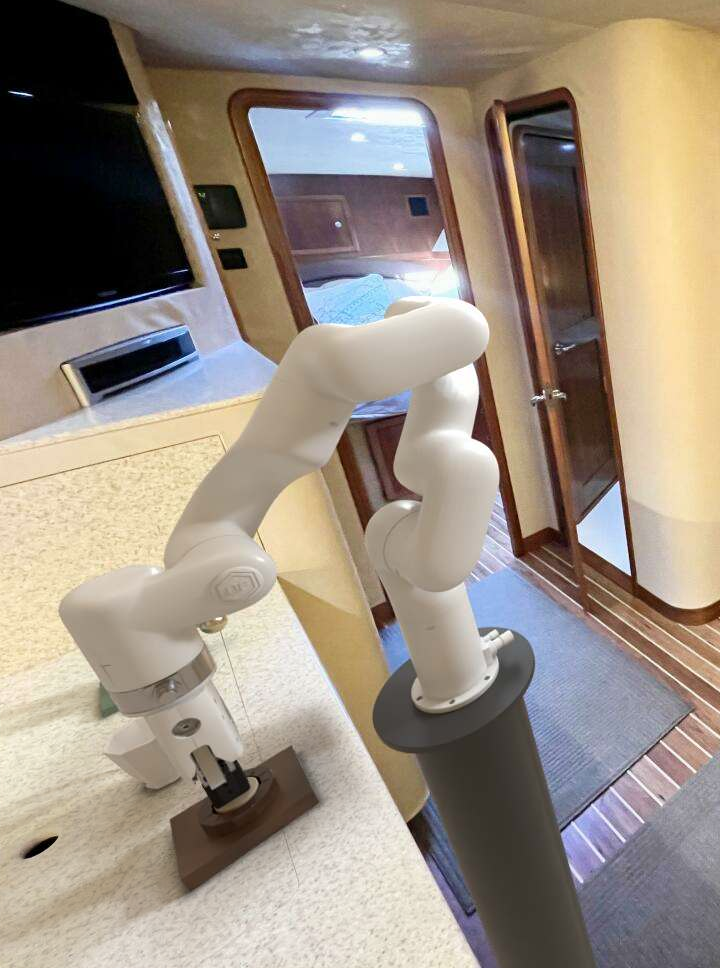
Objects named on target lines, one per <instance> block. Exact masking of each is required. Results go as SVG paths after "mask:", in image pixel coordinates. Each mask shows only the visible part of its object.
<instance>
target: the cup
mask: <svg viewBox="0 0 720 968" xmlns="http://www.w3.org/2000/svg"><path fill="white" fill-rule="evenodd" d="M102 754H103V755H104V756H105V757H106V758H107V759H109V760H110V761H111V762H112V763H114V764H115V765H117V767H119V769H121V770H122V771H123V772H124V773H126V774H127V775H128V776H130V777H132V778H133V779H136V780H137V781H139V782H140V783H145V787H146V788H147V789H152V790H153V789H154V790H159V789H161V788H164V787H165V786H166V787H167V786H168V785H170V784H172V783H174V782H176V781H177V780H178V779H179V778H181V776H180V775H179V774H178V772H177V771H176V769H175V768H174V766H173V765H172V763H171V762H170V760H169V759H168V757H167V755H166V754H165V752H164V751H163V749H162V748H161V746H160V744H159V743H158V741H157V739H156V738H155V736H154V734H153V733H152V731H151V729H150V728H149V726H148V724H147V722H146V721H145V719H144V717H137V718H131V720H130V721H128V722H127V723H126V724H124V725H123V726H122V727H120V728H119V729H118V730H116V731H115V732H113V733H112V734H111V735H110V736H108V738H107V740H106V743H105V744H104V748H103V750H102Z"/></svg>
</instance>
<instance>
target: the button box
mask: <svg viewBox="0 0 720 968" xmlns="http://www.w3.org/2000/svg"><path fill="white" fill-rule="evenodd" d="M243 771H244V773H245V775H246V777H253V778H256V779H257V781H258V783H259V784H260V787H259V789H258V791H257V793H256V794H255V795H254V796H253V797H252V798H251V799H250V800H249V801H248V802H247V803H245V804H244V805H242V806H241V807H239V808H237V809H236V810H234V811H232V812H229V813H226V814H222V815H218V813H217V812H216V810H215V808H214V805H213V804H212V802H211V801H210V799H209V797H208V796H205V797H203V798H202V799H200V800H198V801H197V802H195V803H194V804H192V805H190V806H188V807H187V808H185V809H184V810H182V811H180V812H179V813H177V814H176V815H174V816H172V817H171V818H169V824H170V831H171V835H172V841H173V846H174V852H175V857H176V862H177V863H176V864H177V868H178V869H177V870H178V874H179V879H180V882H181V883H182V884H183V886H184V887H185V889H186V890H187V891H188V892H189V893H191V892H192V891H194V890H195V889H196V888H199V887H200V886H201V885H202V884H204V883H205V882H207V881H208V880H210V879H211V878H213V876H214V877H215V875H217V874H218V873H220V872H221V871H222V870H224V869H226V868H227V867H228V866H230V865H231V864H233V863H234V862H235V861H237V860H238V859H240V858H241V857H243V856H244V855H246V854H247V853H248V852H250V851H252V850H253V849H254V848H256V847H257V846H259V845H260V844H261V843H263V842H264V841H266V840H267V839H268V838H271V836H273V835H275V834H276V833H278V831H280V830H282V829H283V828H284V827H286V826H287V825H289V824H291V823H292V822H293V821H295V820H297V819H298V818H299V817H301V816H302V815H304V814H305V813H307V812H308V811H309V810H310V809H312V808H313V807H315V806H316V805H318V804H319V803H320V800H319V798H318V796H317V793H316V792H315V790H314V787H313V785H312V783H311V780H310V778H309V777H308V774H307V772H306V770H305V768H304V766H303V764H302V762H301V760H300V757H299V755H298V753H297V751H296V749H295V747H294V746H293V744H290V745H289V746H287V747H286V748H284V749H282V750H280V751H279V752H278V753H276V754H274V755H273V756H271V757H269V758H268V759H265V760H264V761H263V762H260V764H259V763H258V765H256V766H254V767H251V768H247V769H243Z"/></svg>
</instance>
